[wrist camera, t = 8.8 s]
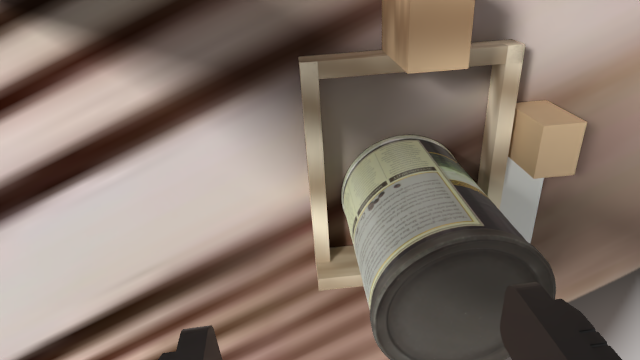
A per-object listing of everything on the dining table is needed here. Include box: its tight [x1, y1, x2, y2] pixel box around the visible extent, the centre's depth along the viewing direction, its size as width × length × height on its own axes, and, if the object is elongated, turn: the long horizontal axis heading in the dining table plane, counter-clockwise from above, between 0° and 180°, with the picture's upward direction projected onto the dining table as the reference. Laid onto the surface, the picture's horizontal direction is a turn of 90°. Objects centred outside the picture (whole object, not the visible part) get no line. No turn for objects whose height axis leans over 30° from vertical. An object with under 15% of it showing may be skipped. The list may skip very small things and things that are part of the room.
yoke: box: [298, 0, 525, 291], centre depth 30 cm, size 23×15×7 cm, turn 4°
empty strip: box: [500, 100, 587, 243], centre depth 36 cm, size 22×4×5 cm, turn 4°
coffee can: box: [341, 135, 556, 360], centre depth 30 cm, size 10×10×14 cm
